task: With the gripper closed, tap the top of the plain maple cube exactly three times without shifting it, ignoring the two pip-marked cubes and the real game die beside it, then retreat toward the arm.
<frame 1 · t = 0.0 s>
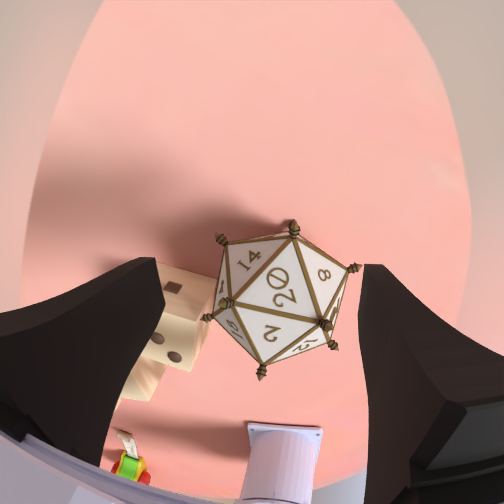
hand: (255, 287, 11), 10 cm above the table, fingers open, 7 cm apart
pip block a: (182, 296, 25), on the table
game die: (285, 259, 22), on the table
plain block: (137, 343, 29), on the table
toy measuring tape: (134, 454, 44), on the table
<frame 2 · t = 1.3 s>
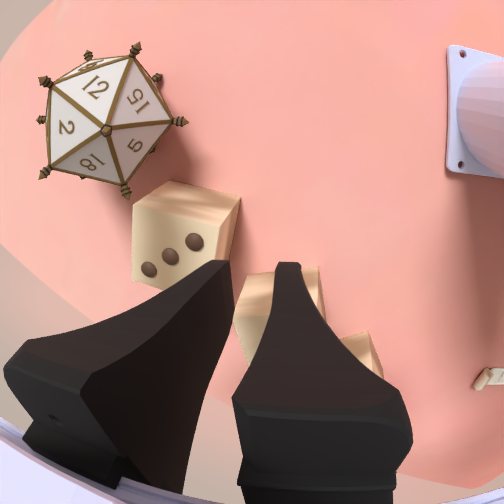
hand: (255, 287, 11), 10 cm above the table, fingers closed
pip block a: (199, 221, 22), on the table
game die: (139, 111, 19), on the table
pip block b: (347, 359, 25), on the table
plain block: (288, 299, 24), on the table
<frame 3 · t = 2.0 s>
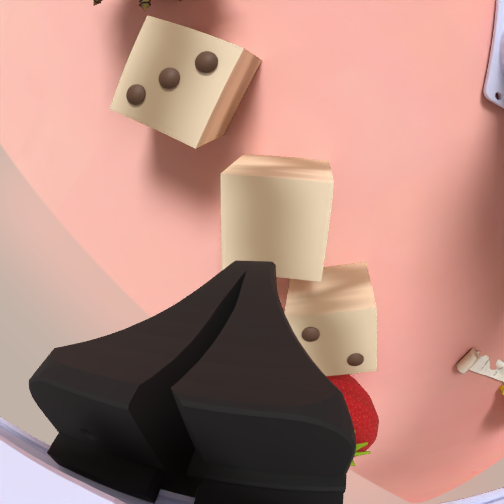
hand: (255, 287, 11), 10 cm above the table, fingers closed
pip block a: (205, 80, 17), on the table
pip block b: (332, 297, 22), on the table
strawberry: (337, 370, 25), on the table
plain block: (283, 197, 19), on the table
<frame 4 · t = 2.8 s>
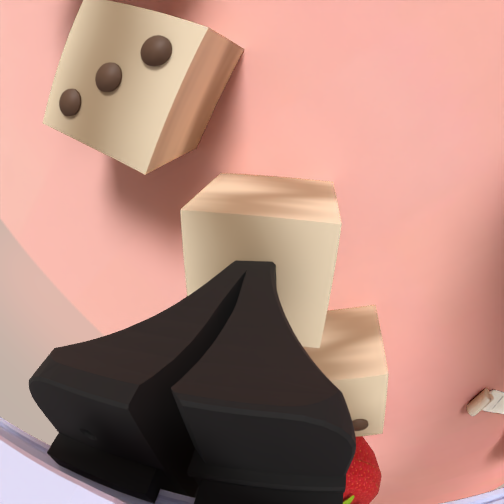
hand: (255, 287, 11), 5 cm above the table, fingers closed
pip block a: (171, 78, 13), on the table
pip block b: (333, 343, 18), on the table
strawberry: (337, 415, 21), on the table
plain block: (273, 227, 15), on the table
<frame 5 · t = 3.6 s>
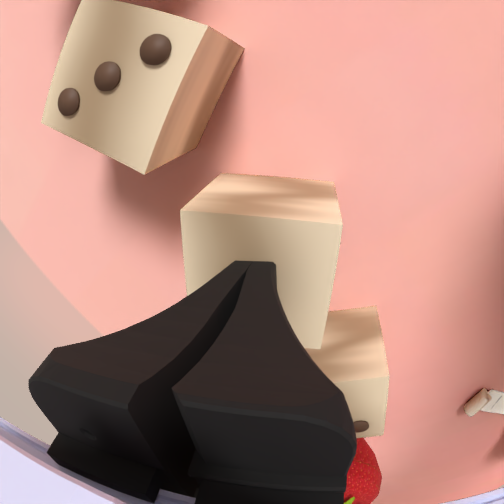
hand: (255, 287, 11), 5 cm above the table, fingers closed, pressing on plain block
pip block a: (171, 78, 13), on the table
pip block b: (334, 344, 18), on the table
strawberry: (337, 415, 21), on the table
plain block: (274, 228, 15), on the table, touching gripper
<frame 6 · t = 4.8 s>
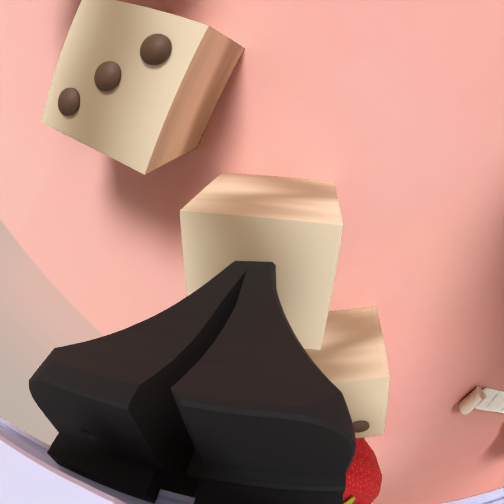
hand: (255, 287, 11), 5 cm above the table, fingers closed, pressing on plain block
pip block a: (171, 77, 13), on the table
pip block b: (334, 344, 18), on the table
strawberry: (337, 415, 21), on the table
plain block: (274, 228, 15), on the table, touching gripper
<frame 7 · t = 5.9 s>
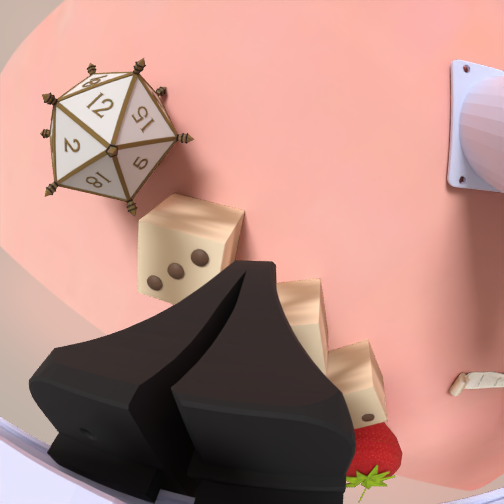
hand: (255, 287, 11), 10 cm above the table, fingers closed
pip block a: (203, 234, 22), on the table
game die: (143, 124, 20), on the table
pip block b: (348, 366, 26), on the table
strawberry: (367, 411, 28), on the table
plain block: (291, 309, 24), on the table
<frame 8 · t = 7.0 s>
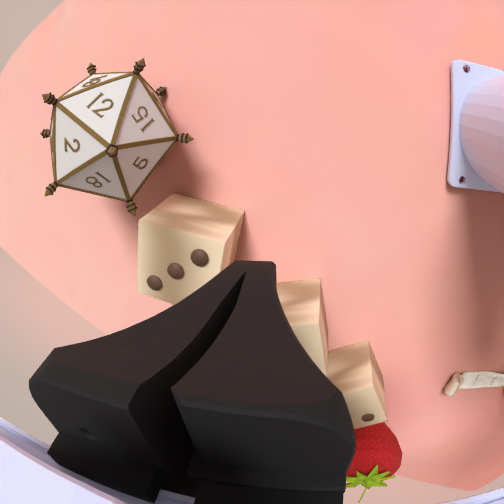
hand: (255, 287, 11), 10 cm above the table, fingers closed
pip block a: (203, 234, 22), on the table
game die: (143, 124, 20), on the table
pip block b: (348, 366, 26), on the table
strawberry: (367, 411, 28), on the table
plain block: (291, 309, 24), on the table
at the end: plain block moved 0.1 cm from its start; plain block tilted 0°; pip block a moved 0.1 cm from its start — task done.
